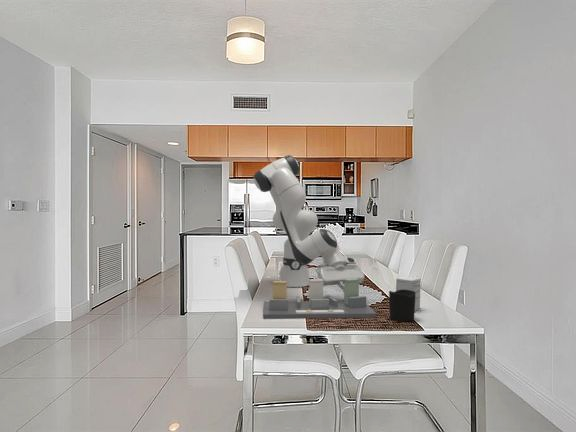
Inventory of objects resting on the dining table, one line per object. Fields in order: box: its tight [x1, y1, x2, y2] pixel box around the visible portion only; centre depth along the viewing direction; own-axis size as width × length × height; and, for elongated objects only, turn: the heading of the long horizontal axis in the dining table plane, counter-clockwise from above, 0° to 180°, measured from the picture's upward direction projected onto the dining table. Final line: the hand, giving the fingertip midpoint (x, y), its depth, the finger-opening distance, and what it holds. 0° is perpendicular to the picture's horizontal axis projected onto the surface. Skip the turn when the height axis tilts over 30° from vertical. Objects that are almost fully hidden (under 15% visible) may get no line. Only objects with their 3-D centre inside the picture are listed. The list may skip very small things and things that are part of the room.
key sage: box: [343, 278, 360, 305], centre depth 175 cm, size 3×5×10 cm, turn 115°
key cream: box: [308, 278, 324, 305], centre depth 174 cm, size 3×5×10 cm, turn 99°
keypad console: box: [263, 295, 378, 320], centre depth 171 cm, size 21×42×6 cm, turn 93°
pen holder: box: [388, 290, 416, 322], centre depth 160 cm, size 9×9×10 cm
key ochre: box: [272, 280, 288, 299], centre depth 170 cm, size 3×5×10 cm, turn 83°
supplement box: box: [395, 275, 422, 312], centre depth 175 cm, size 7×7×13 cm
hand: (347, 291), depth 177 cm, fingers closed, pressing on key sage
